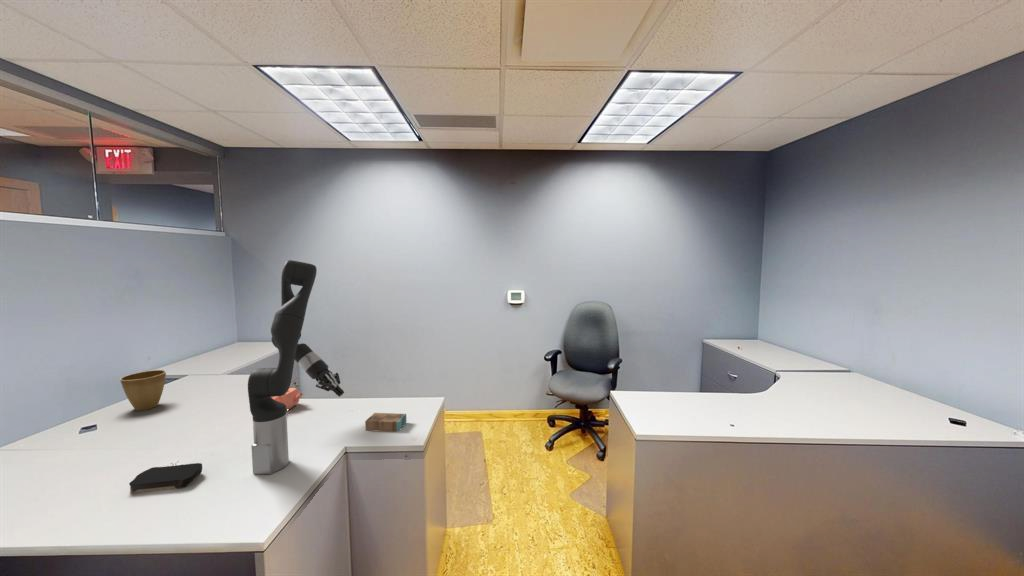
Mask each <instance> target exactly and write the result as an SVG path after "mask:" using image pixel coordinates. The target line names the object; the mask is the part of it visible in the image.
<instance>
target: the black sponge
mask: <svg viewBox="0 0 1024 576" xmlns="http://www.w3.org/2000/svg"><path fill="white" fill-rule="evenodd" d="M202 472H203V463H201V462H200V463H199V462H198V463H197V462H195V463H194V462H193V463H186V464H180V465H179V464H177V465H168V466H167V465H166V466H155V467H150V468H148V469H146V470H144V471H141V472H140V473H138V474H137V475H136V476H135V478H133V480H131V481H130V482H129V483H128V484H129V488H130V489H129V493H130V494H135V493H136V494H137V493H146V492H152V491H153V492H154V491H164V490H174V489H176V490H179V489H183V488H187V487H188V486H189V485H190V484H191V483H192V482H193V481H194V479H195V478H198V476H199V475H201V474H202Z"/></svg>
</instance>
